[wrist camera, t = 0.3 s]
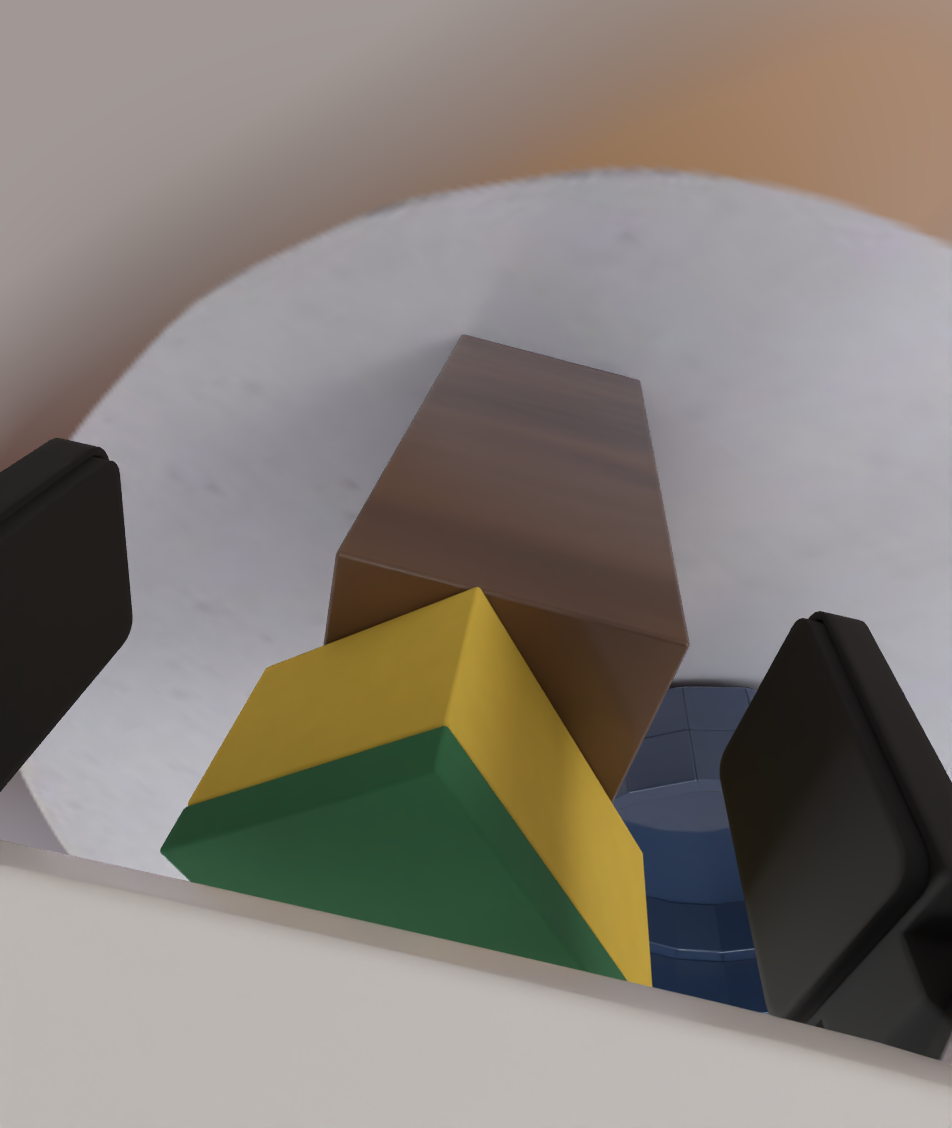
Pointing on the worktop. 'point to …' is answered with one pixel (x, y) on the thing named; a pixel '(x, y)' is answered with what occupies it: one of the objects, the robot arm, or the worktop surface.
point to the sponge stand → (532, 536)
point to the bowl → (692, 849)
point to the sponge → (422, 798)
